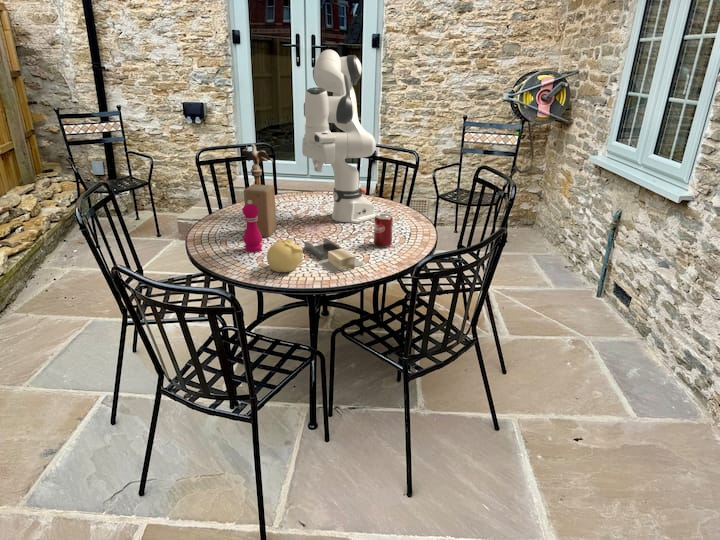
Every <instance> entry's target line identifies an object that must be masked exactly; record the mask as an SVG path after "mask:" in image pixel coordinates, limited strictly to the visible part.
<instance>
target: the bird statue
mask: <svg viewBox="0 0 720 540" xmlns="http://www.w3.org/2000/svg"><path fill="white" fill-rule="evenodd" d="M250 146H251V150H249V147H248V145H246V147H244V149H242V150H241V152H242V154H243V155H244V156H245V157H246V158H247V160H248V162H250V161H252V163H253V164H252V165H251V169H250V172H251V176H252V177H253V179H254V184H257V185H261V180H260V179H261V176H262V171H263V169H262V168H261V167H260V165H259V164H260V162H267V163H268V162H269V161H270V162H272V163H273V164H274V163H275V162H274V159H273V158H271V157H269V155H268V154H267V152H266V150H264V149H263V150H260V151H258V150H257V148H256V144H255V143H253V142H250Z"/></svg>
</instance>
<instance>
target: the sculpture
mask: <svg viewBox="0 0 720 540" xmlns="http://www.w3.org/2000/svg"><path fill="white" fill-rule="evenodd" d="M303 251H304V250H303V248H302V247H301V246H300V245H298V244H297V243H295V242H293V240H292V239H278V240H277V241H276V242H275V243H273V244H272V245H271V246H270V247H269V248H268V251H267V254H266V260H267V261H266V262H267V264H268V266H269V268H270V269H271V270H272V271H274V272H277V273H288V272H289V273H290V272H293V271H295V270H296V269H297V268H298V266H299V265H300V262H301V261H302V260H303V256H304V255H303Z"/></svg>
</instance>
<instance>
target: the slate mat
mask: <svg viewBox="0 0 720 540" xmlns="http://www.w3.org/2000/svg"><path fill="white" fill-rule="evenodd" d="M316 263H317V264H318V265H320V266H321V267H322V268H324V269H326V270H327V271H328V272H329V274H333V273H337V272H341V270H339V269H338V268H337V267H335V266H334V265H332V264H331V263H330V262H328V259H326V260H320V261H316ZM363 265H364V263H363V262H361V261H360V260H358V259H357V258H355V267H354V268H358V267H361V266H363ZM354 268H353V267H351V268H350V269H354ZM346 270H349V268H347V269H346ZM342 271H345V269H343V270H342Z"/></svg>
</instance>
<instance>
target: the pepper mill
mask: <svg viewBox="0 0 720 540" xmlns="http://www.w3.org/2000/svg"><path fill="white" fill-rule="evenodd" d="M247 203H248V204H246V205H245V204H244V205H243V207H242V214H243V215H244V217H243V218H244V222H245V225H246V227H245V230H244V234H243V238H242V239H243V243H244V244H245V246H244V249H245V252H247V253H258V252H261V251H262V249H263V247H262V241H263V237H262V235H261V233H260V231H259V230H258V227H257V220H258V216H257V214H258V212H259V210H258V207H257V206H256V205H255V204H252V201H251V200H248V202H247Z"/></svg>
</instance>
